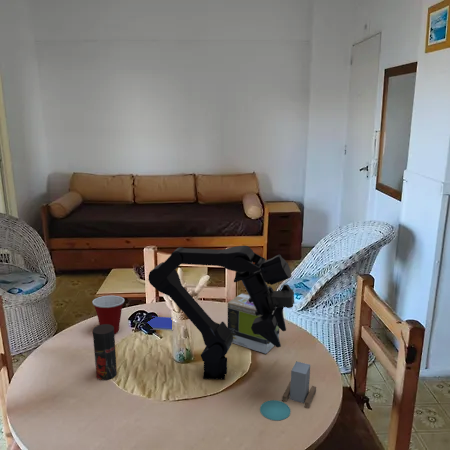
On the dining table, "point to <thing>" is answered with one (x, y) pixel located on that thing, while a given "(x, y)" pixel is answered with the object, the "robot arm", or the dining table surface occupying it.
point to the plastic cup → (109, 310)
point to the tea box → (246, 324)
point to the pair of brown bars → (308, 399)
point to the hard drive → (161, 323)
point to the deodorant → (104, 352)
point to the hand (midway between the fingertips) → (282, 338)
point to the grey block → (300, 382)
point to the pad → (275, 410)
